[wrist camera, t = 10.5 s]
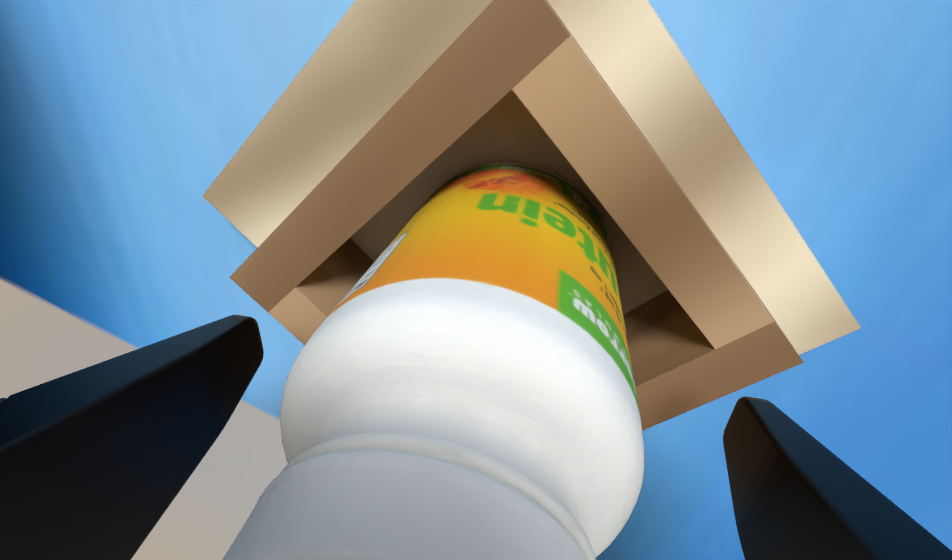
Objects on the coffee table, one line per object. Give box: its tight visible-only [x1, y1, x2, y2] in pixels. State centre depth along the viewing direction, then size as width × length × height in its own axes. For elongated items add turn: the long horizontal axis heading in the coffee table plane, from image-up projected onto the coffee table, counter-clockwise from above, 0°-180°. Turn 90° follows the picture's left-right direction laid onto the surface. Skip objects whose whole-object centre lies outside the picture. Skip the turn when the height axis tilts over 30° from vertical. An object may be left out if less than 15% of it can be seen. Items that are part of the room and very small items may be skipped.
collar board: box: [203, 0, 861, 430], centre depth 12 cm, size 14×12×4 cm
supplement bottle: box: [223, 161, 644, 560], centre depth 9 cm, size 5×5×10 cm
